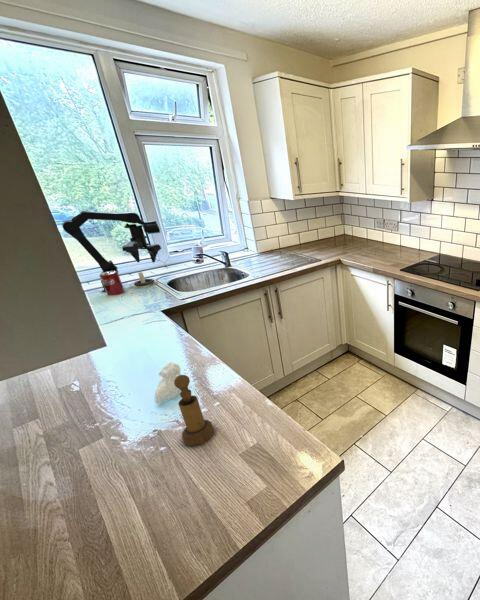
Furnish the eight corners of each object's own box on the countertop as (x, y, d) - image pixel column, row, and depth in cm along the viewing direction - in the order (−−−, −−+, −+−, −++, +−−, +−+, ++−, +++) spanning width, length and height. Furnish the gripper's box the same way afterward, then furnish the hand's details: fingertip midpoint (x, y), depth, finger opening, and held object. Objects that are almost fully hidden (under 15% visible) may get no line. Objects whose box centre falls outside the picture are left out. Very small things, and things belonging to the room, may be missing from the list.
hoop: (130, 286, 182) (129, 283, 182) (144, 280, 191) (143, 278, 190) (145, 286, 182) (145, 283, 181) (158, 281, 190) (157, 278, 189)
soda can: (115, 297, 170) (107, 275, 166) (104, 296, 172) (95, 274, 167) (128, 292, 177) (121, 271, 172) (117, 291, 178) (110, 270, 174)
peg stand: (130, 288, 183) (126, 275, 180) (143, 282, 191) (139, 270, 188) (145, 288, 182) (141, 275, 179) (157, 283, 191) (153, 270, 188)
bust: (167, 414, 93) (185, 384, 91) (138, 404, 90) (156, 373, 88) (183, 388, 104) (200, 361, 102) (157, 378, 101) (174, 351, 99)
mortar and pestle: (192, 427, 85) (173, 369, 78) (218, 425, 86) (201, 367, 79) (178, 447, 79) (157, 386, 72) (206, 445, 80) (187, 384, 73)
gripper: (109, 238, 175) (118, 266, 181) (142, 238, 174) (150, 266, 180) (126, 234, 185) (135, 260, 191) (157, 234, 184) (165, 261, 190)
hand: (146, 262), depth 188 cm, fingers open, 9 cm apart
